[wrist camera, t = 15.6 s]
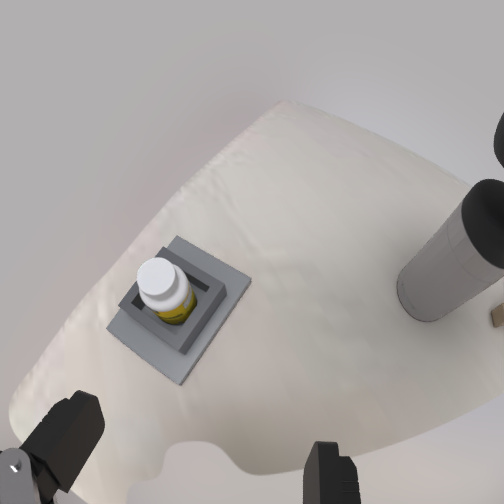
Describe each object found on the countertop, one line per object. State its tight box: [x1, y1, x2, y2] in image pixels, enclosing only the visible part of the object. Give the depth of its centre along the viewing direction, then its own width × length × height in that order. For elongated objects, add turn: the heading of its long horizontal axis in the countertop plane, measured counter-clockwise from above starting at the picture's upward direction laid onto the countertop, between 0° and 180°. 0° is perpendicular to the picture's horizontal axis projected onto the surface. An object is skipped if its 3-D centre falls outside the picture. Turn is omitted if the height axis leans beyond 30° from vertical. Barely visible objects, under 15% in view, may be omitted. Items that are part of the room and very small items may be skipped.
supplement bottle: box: [137, 257, 197, 326], centre depth 34 cm, size 5×5×10 cm
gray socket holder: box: [106, 236, 251, 385], centre depth 37 cm, size 16×12×5 cm
